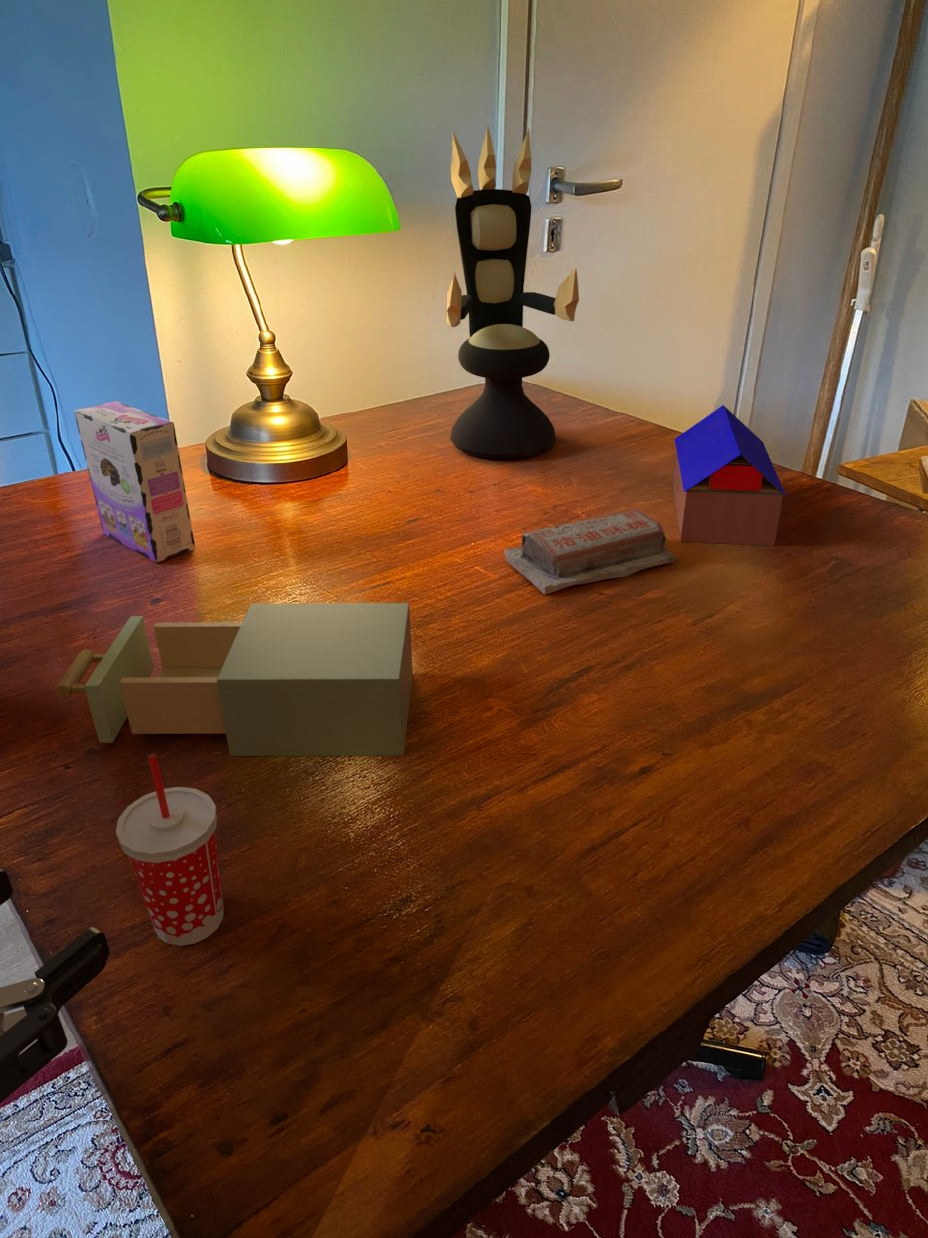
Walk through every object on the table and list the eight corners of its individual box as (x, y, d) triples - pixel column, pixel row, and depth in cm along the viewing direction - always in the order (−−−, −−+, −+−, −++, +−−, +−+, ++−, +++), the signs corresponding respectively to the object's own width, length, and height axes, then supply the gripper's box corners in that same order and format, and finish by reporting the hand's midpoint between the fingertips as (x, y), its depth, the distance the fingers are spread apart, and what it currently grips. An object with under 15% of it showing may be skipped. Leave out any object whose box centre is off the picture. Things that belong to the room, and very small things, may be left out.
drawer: (50, 743, 77) (32, 685, 74) (98, 669, 87) (85, 615, 84) (258, 742, 77) (249, 685, 74) (283, 668, 87) (276, 615, 84)
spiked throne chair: (453, 469, 136) (447, 128, 114) (428, 424, 155) (418, 124, 133) (573, 459, 139) (590, 125, 117) (534, 416, 158) (543, 122, 136)
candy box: (198, 550, 113) (176, 420, 105) (155, 565, 109) (129, 432, 101) (141, 519, 121) (116, 397, 113) (100, 533, 117) (71, 408, 109)
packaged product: (631, 498, 113) (680, 527, 105) (627, 534, 115) (676, 565, 108) (502, 524, 106) (545, 558, 99) (502, 562, 109) (543, 597, 101)
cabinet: (229, 756, 77) (216, 679, 73) (260, 673, 88) (250, 603, 84) (403, 755, 77) (399, 678, 73) (412, 672, 88) (409, 602, 84)
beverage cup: (181, 875, 65) (144, 716, 58) (253, 899, 63) (224, 738, 56) (123, 938, 60) (75, 773, 53) (198, 967, 58) (159, 799, 51)
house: (755, 487, 129) (768, 406, 123) (777, 547, 112) (793, 456, 106) (669, 483, 130) (678, 403, 124) (678, 542, 113) (688, 452, 107)
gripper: (-220, 1198, 34) (125, 912, 46) (-379, 1024, 41) (-42, 813, 53) (-150, 1297, 38) (152, 1008, 50) (-307, 1123, 44) (-7, 905, 56)
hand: (52, 908), depth 51 cm, fingers open, 8 cm apart
